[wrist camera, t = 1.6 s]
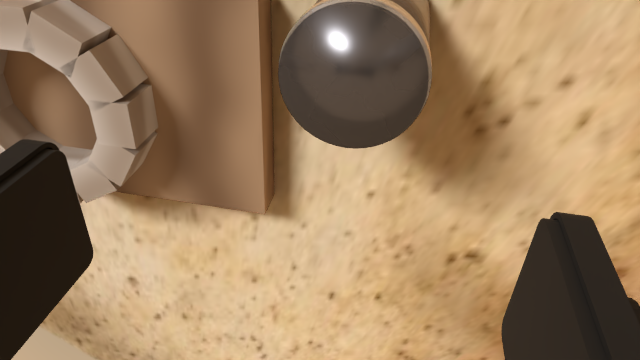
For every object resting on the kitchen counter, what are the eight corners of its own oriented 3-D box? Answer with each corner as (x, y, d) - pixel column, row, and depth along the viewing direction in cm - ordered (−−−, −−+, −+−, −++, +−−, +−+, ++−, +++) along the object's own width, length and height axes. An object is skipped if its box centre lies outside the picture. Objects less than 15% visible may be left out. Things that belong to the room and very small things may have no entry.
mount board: (270, -15, 23) (239, 10, 19) (274, 194, 30) (252, 241, 26) (-66, -43, 25) (-149, -26, 22) (8, 155, 32) (-46, 193, 28)
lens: (441, -39, 21) (445, 9, 14) (422, 76, 24) (418, 159, 17) (322, -48, 22) (274, -6, 15) (318, 64, 25) (276, 141, 18)
